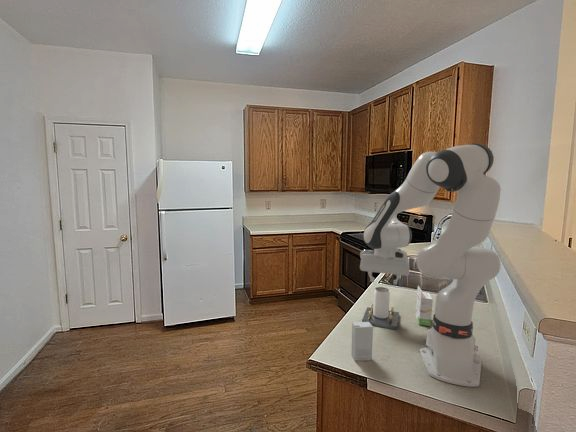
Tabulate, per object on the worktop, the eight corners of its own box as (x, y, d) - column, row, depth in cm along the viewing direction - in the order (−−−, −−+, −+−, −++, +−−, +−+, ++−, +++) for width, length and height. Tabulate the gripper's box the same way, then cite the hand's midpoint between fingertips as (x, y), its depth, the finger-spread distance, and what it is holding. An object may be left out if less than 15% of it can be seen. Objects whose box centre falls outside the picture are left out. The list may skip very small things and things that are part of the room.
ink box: (431, 326, 134) (434, 292, 132) (418, 325, 135) (421, 291, 133) (426, 317, 143) (429, 285, 141) (415, 316, 144) (417, 284, 142)
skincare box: (367, 354, 112) (369, 320, 110) (372, 361, 107) (374, 326, 106) (350, 354, 111) (351, 321, 110) (354, 362, 107) (355, 327, 105)
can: (390, 319, 137) (391, 292, 135) (375, 318, 137) (376, 291, 136) (386, 312, 143) (387, 286, 142) (371, 312, 143) (372, 286, 142)
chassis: (396, 329, 131) (397, 319, 130) (361, 323, 136) (362, 313, 135) (398, 315, 144) (399, 305, 144) (367, 310, 150) (367, 300, 149)
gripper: (359, 250, 138) (357, 281, 139) (410, 254, 130) (408, 288, 131) (361, 247, 143) (360, 278, 145) (410, 252, 136) (408, 284, 137)
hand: (383, 283), depth 138 cm, fingers open, 8 cm apart
